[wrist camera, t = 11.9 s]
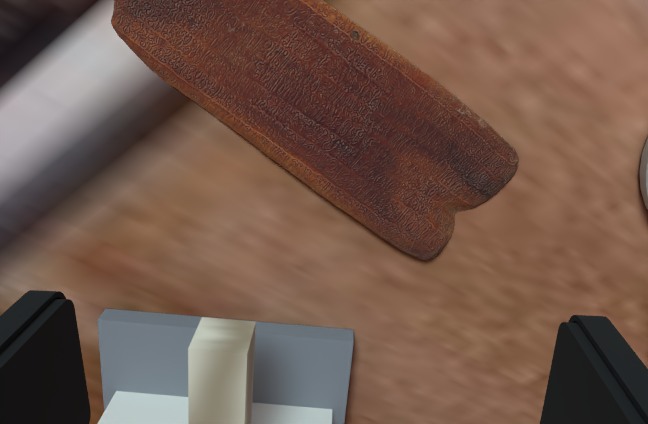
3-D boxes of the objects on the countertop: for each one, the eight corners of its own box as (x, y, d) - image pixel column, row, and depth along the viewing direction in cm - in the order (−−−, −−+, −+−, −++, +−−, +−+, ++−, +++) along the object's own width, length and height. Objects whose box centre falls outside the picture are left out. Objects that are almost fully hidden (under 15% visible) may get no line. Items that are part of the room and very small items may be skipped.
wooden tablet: (526, 152, 37) (534, 159, 35) (426, 263, 40) (430, 274, 38) (174, -125, 32) (166, -131, 30) (90, 27, 35) (79, 28, 33)
